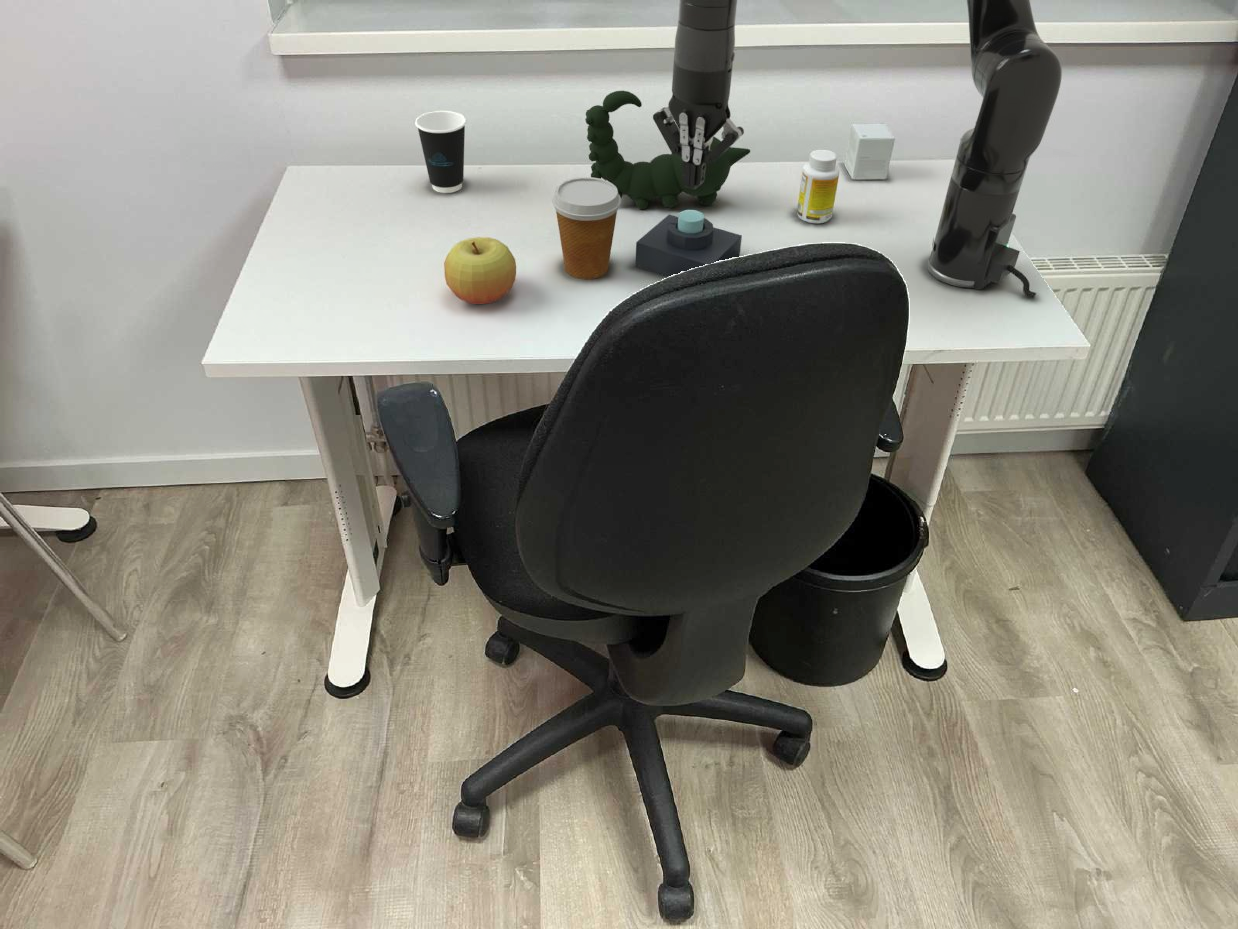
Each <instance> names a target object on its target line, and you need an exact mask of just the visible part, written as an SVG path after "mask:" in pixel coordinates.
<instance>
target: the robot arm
mask: <svg viewBox="0 0 1238 929" xmlns="http://www.w3.org/2000/svg"><path fill="white" fill-rule="evenodd" d="M737 6H738V0H679V6H678V7H679V8H678V21H677V27H676V31H675V32H676V33H675V38H674V50H673V51H674V52H673V66H672V81H671V83H672V84H671V93H672V95H671V98H670V100H669V101H668V106H667V107H665V106H664V107H662V108H660V109H659V110H658V111H656V112H655V113H654V114H653V115H652V119H653V122H654V123H655V125H656V127H657V129H658V131H659V132H660V134H661V136H662V138H663V140H664V141H665V143H666V145H667V147H668V149H669V150H670V152H671V153H673V154H678V155H679V156H681V157H682V160H683V169H682V181H683V182H685V187H687V188H691V189H696V188H697V187H698V186H700V185H701V184H702V183H703V182H704V180H705V171H706V163H708V164H711V163H713V162H714V161H715V160H716V159H717V158H719V157H720V156H721V155H722V154H723V153H724V152H725V151H726V150H727V149H728V148H729V147H732V146H733V145H734V144H735V143H736V142H737V141H738V140H739V139H740V138H741V137H742V136H743V135H744V134H745V130H744V128H743V127H742V126H736V124H735V123H734V122H733V121H732V120H731V110H730V107H729V101H730V95H731V85H732V77H733V76H732V75H733V65H734V61H735V56H736V54H735V47H736V16H737ZM966 6H967V16H968V30H969V31H968V32H969V34H968V35H969V55H970V56H969V58H970V72H971V78H972V81H973V84H974V86H975V88H976V90H977V92H978V93H979V94H980V96H981V97H982V101H981V105H980V107H979V108H980V109H979V112H978V115H977V118H976V121H975V125H974V127H973V128H970V129H968V130H967V131H966V132H964V133H963V134H962V136H961V138H960V141H959V144H958V148H957V152H956V156H955V160H954V164H953V168H952V172H951V175H950V180H949V183H948V187H947V189H946V190H947V191H946V195H945V198H944V203H943V207H942V209H941V214H940V218H939V220H938V221H939V222H938V226H937V231H936V234H935V236H934V237H933V238H932V242H931V252H930V255H929V257H928V261H927V269H928V272H929V273H930V274H931V275H932V276H933V278H935V279H937V280H938V281H940V282H942V283H945V284H947V285H951V286H955V287H959V288H972V289H976V290H978V291H982V290H983V289H984V288H985V287H986V286H988V284H990V283H991V282H992V283H995V284H997V285H999V284H1001V282H1003V281H1004V280H1005V279H1006V278H1007V277H1008V276H1009V275H1010V274H1012V275H1013V276H1015V277H1016V278H1017V279H1018V280H1019V281H1021V284H1022V291H1023V294H1024V295H1025V296H1026V297H1027V298H1031V299H1034V298H1035V297H1036V295H1037V292H1036V291H1031V290H1030V287H1031V286H1030V281H1029V279H1028V278H1027V276H1026V275H1025V274H1024V273H1023V272H1021V271H1020V270H1018V269H1017V268H1016V264H1017V261H1018V258H1019V255H1020V253H1021V251H1020V250H1018V249H1015V248H1013V247H1010V246H1009V241H1010V238H1011V235H1012V232H1013V229H1014V225H1015V222H1016V219H1017V215H1016V214H1015V213H1014V210H1015V206H1016V204H1017V201H1018V196H1019V194H1020V191H1021V187H1022V184H1023V181H1024V179H1025V176H1026V175H1025V174H1026V171H1027V169H1028V165H1029V162H1030V159H1031V157H1032V156H1033V154H1034V153H1035V152H1036V150H1038V148H1039V146H1040V144H1041V142H1042V140H1043V139H1044V138H1043V137H1044V135H1045V132H1046V130H1047V126H1048V125H1049V122H1050V118H1051V116H1052V113H1053V110H1054V107H1055V105H1056V102H1057V99H1058V96H1059V92H1060V89H1061V84H1062V78H1063V69H1062V63H1061V61H1060V59H1059V57H1058V55H1057V54H1056V53H1055V52H1054V50H1052V49H1051V47H1050V46H1049V45H1048V44H1047V43H1046V42H1044V40H1043V39H1042V38H1041V37H1040V35H1039V33H1038V30H1037V26H1036V23H1035V19H1034V15H1033V11H1032V5H1031V0H966ZM722 128H723V130H722V132H721V139H722V140H720V141H721V142H720V143H719V144H718V145H717V146H716V147H715V148H714V149H713V150H710V145H711V143H712V141H713V136H714V137H715V135H716V134H717V133H718V132H719V131H720V130H721V129H722Z"/></svg>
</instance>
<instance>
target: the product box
mask: <svg viewBox="0 0 1238 929" xmlns="http://www.w3.org/2000/svg"><path fill="white" fill-rule="evenodd" d="M849 131H850V132H849V137H848V142H847V143H848V144H847V148H846V154H845V161H844V167H845V168H846V170H847V172H848V174H849V176H850V178H851V179H852V180H859V181H860V180H861V181H862V180H887V179H888V174H889V168H890V164H891V158H892V154H893V149H894V145H895V140H896V137H895V136H894V134H893V133H892V131H891V130H890V128H889V126H888V125H887V123H852V124H851V125H850V130H849Z"/></svg>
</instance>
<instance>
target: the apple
mask: <svg viewBox="0 0 1238 929" xmlns="http://www.w3.org/2000/svg"><path fill="white" fill-rule="evenodd" d="M443 267H444V268H443V270H444V279H445V283H446V286H447V287H448V288H449V290H450V291H451V292H452V293H453V294H454V295H455V297H457V298H458V299H459V300H461V301H464V302H466V303H467V304H473V305H487V304H491V303H495V302H497V301H498V300H500V299H502V298H504V297H505V296H506V294H508V292H510V290H511V289H512V288H513V286H514V284H515V282H516V276H517V262H516V258H515V256H514V255H513V253H512V251H511V250H510V248H509V247H508V245H506V244H505V243H503V242H502V241H500V240H499V239H496V238H492V237H485V236H484V237H483V236H478V237H477V236H476V237H470V238H468V239H467V238H466V239H464V240H461V241H459V242H457V243H455V245H453V246H452V248H451V249H450V250H449V252H448V253H447V255H446V257H445V259H444V263H443Z"/></svg>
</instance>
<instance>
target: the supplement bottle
mask: <svg viewBox="0 0 1238 929" xmlns="http://www.w3.org/2000/svg"><path fill="white" fill-rule="evenodd" d="M808 160H809V161H808V162H807V163H805V164H804V165H803V167H802V171H801V172H802V173H801V178H800V187H799V193H798V199H797V207H796V214H797V217H798V218H799V219H800V220H802V221H804V222H806V223H809V224H823V223H824V224H825V223H827V222H829V221H830V220H831V219H832V217H833V212H834V208H835V201H836V195H837V194H836V193H837V189H838V183H839V179H840V178H839V177H840V168H839V166H837V160H838V155H837V154H836V153H835V152H834V151H832V150H829V149H815V150H813V151H811V152H810V155H809V159H808Z"/></svg>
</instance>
